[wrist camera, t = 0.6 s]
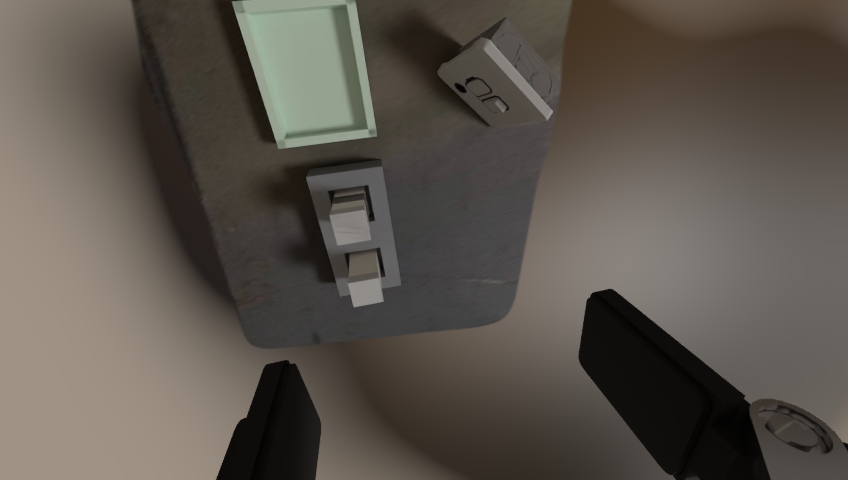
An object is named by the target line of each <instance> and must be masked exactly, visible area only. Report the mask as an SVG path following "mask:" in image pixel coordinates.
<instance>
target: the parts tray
mask: <svg viewBox="0 0 848 480" xmlns="http://www.w3.org/2000/svg"><path fill="white" fill-rule="evenodd" d="M232 4H233V8H234V11H235V14H236V17H237V20H238V23H239V26H240V30H241V33H242V36H243V39H244V42H245V45H246V48H247V52H248V55H249V58H250V61H251V64H252V67H253V70H254V73H255V77H256V80H257V83H258V86H259V89H260V92H261V95H262V99H263V102H264V105H265V108H266V111H267V114H268V117H269V121H270V124H271V127H272V130H273V133H274V136H275V139H276V143H277V146H278V149H282V148H290V147H298V146H305V145H313V144H321V143H328V142H336V141H344V140H351V139H359V138H367V137H375V136H377V132H376V126H375V120H374V113H373V107H372V101H371V95H370V89H369V82H368V76H367V70H366V64H365V58H364V51H363V45H362V39H361V33H360V27H359V20H358V14H357V8H356V2H355V0H245V1H232Z"/></svg>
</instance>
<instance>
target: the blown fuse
mask: <svg viewBox="0 0 848 480" xmlns="http://www.w3.org/2000/svg"><path fill="white" fill-rule="evenodd" d="M329 216H330V219H331V223H332V227H333V231H334V234H335V238H336V242H337V246H338V245H344V244H350V243H356V242H362V241H368V240H371V234H370V219H369V206H368V201H367V195H366V190H365V185H364V186H357V187H351V188H344V189H337V190H335V195H334V197H333V201H332V209H331V211H330V215H329Z"/></svg>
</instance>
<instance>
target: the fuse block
mask: <svg viewBox="0 0 848 480" xmlns="http://www.w3.org/2000/svg"><path fill="white" fill-rule="evenodd" d="M306 179H307V183H308V186H309V190H310V193H311V197H312V200H313V204H314V207H315V211H316V214H317V218H318V221H319V225H320V228H321V231H322V235H323V238H324V242H325V245H326V249H327V252H328V256H329V259H330V263H331V266H332V270H333V273H334V276H335V280H336V283H337V287H338V290H339V294H340V296H345V295H351V294H350V290H349V287H348V277H349V263H350V252H356V251H362V250H368V249H374V248H377V252H378V257H379V262H380V276H381V286H382V289H383V288H389V287H394V286H400V285H401V280H400V274H399V268H398V261H397V255H396V249H395V243H394V237H393V230H392V224H391V218H390V212H389V206H388V199H387V193H386V187H385V181H384V175H383V168H382V163H381V159H380V160H373V161H365V162H358V163H351V164H344V165H337V166H329V167H322V168H315V169H310V170H309V172H308V174H307V176H306ZM364 185H365V190H366V195H367V201H368V206H369V219H370V234H371V240H368V241H362V242H356V243H350V244H344V245H338V246H337V242H336V238H335V234H334V231H333V227H332V223H331V219H330V216H329V215H330V211H331V209H332V201H333V197H334V195H335V190H337V189H344V188H351V187H357V186H364Z"/></svg>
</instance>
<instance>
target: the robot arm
mask: <svg viewBox="0 0 848 480" xmlns="http://www.w3.org/2000/svg"><path fill="white" fill-rule="evenodd" d="M579 361H580V364H581V366H582V367H583V369H584V370H585V371H586V372H587V374H588V375H589V376H590V378H591V379H592V380H593V382H594V383H595V384H596V385H597V387H598V388H599V389H600V390H601V392H602V393H603V394H604V396H605V397H606V398H607V399H608V401H609V402H610V403H611V404H612V406H613V407H614V408H615V409H616V411H617V412H618V413H619V415H620V416H621V417H622V418H623V420H624V421H625V422H626V424H627V425H628V426H629V427H630V428H631V430H632V431H633V432H634V434H635V435H636V436H637V438H638V439H639V440H640V441H641V443H642V444H643V445H644V446H645V448H646V449H647V450H648V452H649V453H650V454H651V455H652V457H653V458H654V459H655V460H656V462H657V463H658V464H659V466H660V467H661V468H662V469H663V470H664V471H665V472H666V473H667V474H669V475H673V476H674V477H675V479H676V480H848V444H847V443H844V442H842V441H841V439H840V438H839V437H838V435H837V434H836V433H835V431H833V430H832V429H831V428H830V427H829V426H828V425H827V424H826V423H825V422H823V421H822V420H820V419H819V418H817V417H816V416H814V415H813V414H811V413H810V412H808V411H806V410H804V409H802V408H800V407H798V406H796V405H793V404H790V403H787V402H784V401H780V400H775V399H758V400H756V401H753V402H752V404H749V403H748V402H747V401H746V400H745V399H744V397H745V395H743V394H742V393H741V392H740V391H738V390H737V389H736V388H735V387H733V386H732V385H731V384H730V383H729V382H727V381H726V380H725V379H723V378H722V377H721V376H720V375H719V374H717V373H716V372H715V371H714V370H712V369H711V368H710V367H709V366H707V365H706V364H705V363H704V362H703V361H701V360H700V359H699V358H698V357H696V356H695V355H694V354H693V353H691V352H690V351H689V350H688V349H686V348H685V347H684V346H682V345H681V344H680V343H679V342H678V341H677V340H675V339H674V338H673V337H671V336H670V335H669V334H668V333H667V332H665V331H664V330H663V329H662V328H660V327H659V326H658V325H657V324H655V323H654V322H653V321H652V320H650V319H649V318H648V317H647V316H646V315H644V314H643V313H642V312H641V311H639V310H638V309H637V308H636V307H634V306H633V305H632V304H631V303H629V302H628V301H627V300H626V299H624V298H623V297H622V296H621V295H619V294H618V293H617V292H616V291H614V290H612V289H607V290H603V291H598V292H594V293H592V294H591V296H590V298H588V299H587V303H586V310H585V316H584V322H583V329H582V336H581V343H580V349H579ZM320 436H321V422H320V418H319V416H318V414H317V411H316V409H315V407H314V404H313V402H312V400H311V398H310V395H309V393H308V391H307V388H306V386H305V384H304V382H303V379H302V377H301V375H300V372H299V370H298V368H297V366H296V364H290V363H289V361H287V360H284V361H280V362H275V363H271V364H267V365H266V366H265V367H264V369H263V372H262V375H261V378H260V380H259V383H258V386H257V389H256V392H255V395H254V398H253V400H252V404H251V406H250V409H249V412H248V415H247V418H244V419H242V420H240V422H239V423H238V424H237V426H236V428H235V430H234V433H233V436H232V438H231V441H230V444H229V447H228V449H227V452H226V455H225V457H224V460H223V463H222V465H221V468H220V471H219V473H218V476H217V479H216V480H315V477H316V469H317V461H318V452H319V444H320Z"/></svg>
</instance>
